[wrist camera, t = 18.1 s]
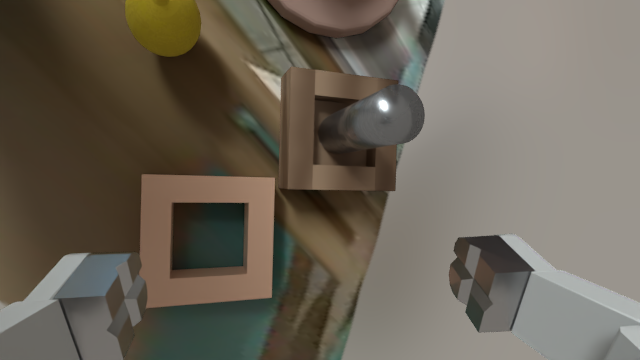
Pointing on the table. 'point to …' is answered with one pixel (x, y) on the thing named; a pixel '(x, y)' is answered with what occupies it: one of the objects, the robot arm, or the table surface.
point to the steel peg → (374, 121)
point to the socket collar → (205, 282)
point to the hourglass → (334, 15)
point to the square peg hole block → (303, 141)
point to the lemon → (164, 25)
